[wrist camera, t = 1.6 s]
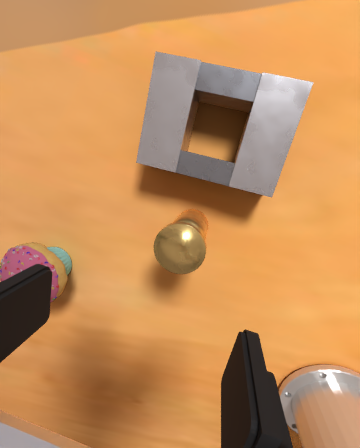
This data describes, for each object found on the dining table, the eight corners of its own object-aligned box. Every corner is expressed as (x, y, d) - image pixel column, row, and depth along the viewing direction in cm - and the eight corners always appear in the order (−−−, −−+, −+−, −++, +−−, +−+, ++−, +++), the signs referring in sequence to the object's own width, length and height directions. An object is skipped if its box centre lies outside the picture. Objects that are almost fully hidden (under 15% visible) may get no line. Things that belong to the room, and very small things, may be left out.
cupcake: (55, 295, 34) (-27, 358, 23) (22, 250, 34) (-82, 292, 22) (94, 271, 32) (24, 328, 21) (60, 222, 31) (-34, 253, 20)
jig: (296, 98, 23) (313, 82, 18) (263, 192, 25) (271, 197, 21) (166, 71, 24) (155, 51, 20) (149, 163, 27) (136, 162, 23)
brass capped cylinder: (215, 212, 27) (212, 232, 18) (205, 246, 28) (198, 280, 20) (178, 202, 27) (159, 217, 19) (170, 236, 29) (149, 265, 20)
